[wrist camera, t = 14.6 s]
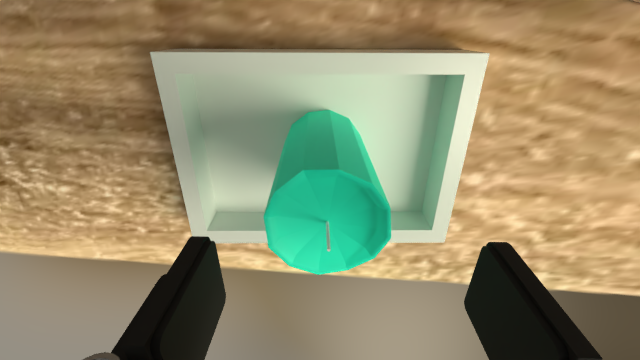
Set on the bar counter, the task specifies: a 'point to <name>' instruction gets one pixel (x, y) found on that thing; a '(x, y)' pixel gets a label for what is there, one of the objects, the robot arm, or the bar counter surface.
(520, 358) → the robot arm
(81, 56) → the bar counter surface
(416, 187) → the tray
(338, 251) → the candle
